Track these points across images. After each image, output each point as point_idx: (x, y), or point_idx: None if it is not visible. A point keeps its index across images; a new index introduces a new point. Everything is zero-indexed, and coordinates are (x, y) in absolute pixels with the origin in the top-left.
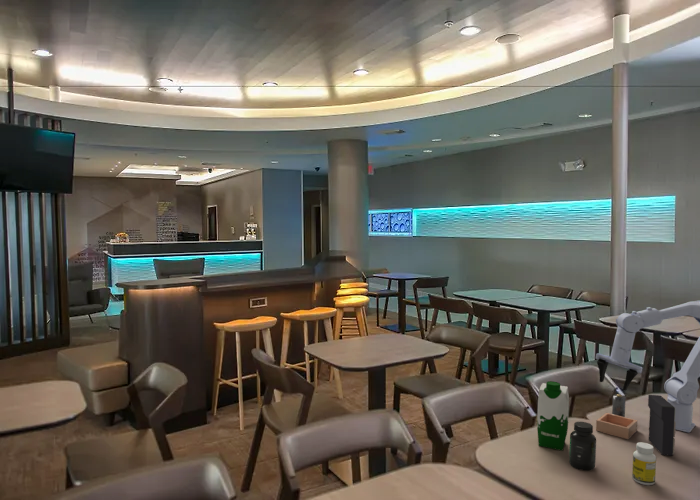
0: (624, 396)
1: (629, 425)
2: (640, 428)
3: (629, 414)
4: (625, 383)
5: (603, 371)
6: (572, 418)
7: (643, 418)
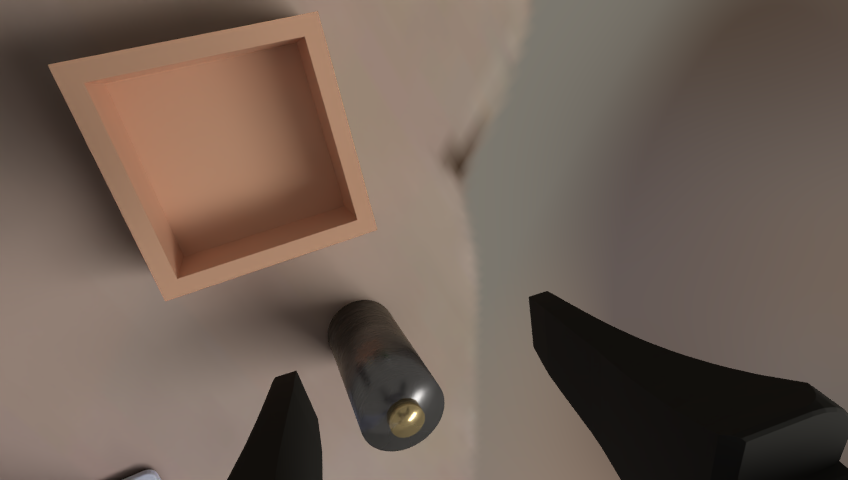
0: (383, 448)
1: (106, 146)
2: (193, 324)
3: None
4: (270, 435)
5: (611, 389)
6: (498, 85)
7: None
